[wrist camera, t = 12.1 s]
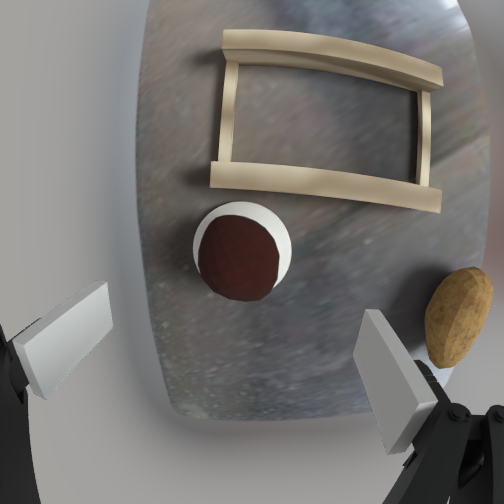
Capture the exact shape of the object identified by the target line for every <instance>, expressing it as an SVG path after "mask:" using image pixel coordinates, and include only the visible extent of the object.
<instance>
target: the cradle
mask: <svg viewBox="0 0 504 504" xmlns="http://www.w3.org/2000/svg"><path fill="white" fill-rule="evenodd" d="M222 51H223V53H224V56H225V58H226V60H227V62H226V72H225V82H224V92H223V103H222V115H221V128H220V141H219V155H218V162H217V161H211V176H210V187H211V188H231V189H247V190H261V191H274V192H286V193H297V194H307V195H317V196H326V197H335V198H343V199H351V200H359V201H367V202H374V203H381V204H388V205H394V206H401V207H407V208H413V209H419V210H425V211H430V212H436V213H440V209H441V200H442V191H443V190H439V189H435V188H431V187H428V182H429V169H430V148H431V110H430V92H432V91H435V90H437V89H439V88H441V87H443V78H442V69H441V67H438V66H436V65H433V64H431V63H428V62H425V61H423V60H420V59H417V58H414V57H411V56H408V55H405V54H402V53H399V52H395V51H392V50H388V49H385V48H381V47H377V46H373V45H369V44H365V43H361V42H356V41H351V40H346V39H341V38H335V37H329V36H323V35H316V34H308V33H299V32H289V31H275V30H224V33H223V41H222ZM239 65H269V66H283V67H295V68H304V69H313V70H320V71H327V72H333V73H339V74H345V75H350V76H356V77H360V78H365V79H370V80H374V81H378V82H382V83H386V84H390V85H394V86H398V87H401V88H405V89H408V90H411V91H415V92H417V96H418V151H417V170H416V183H415V184H411V183H406V182H401V181H396V180H390V179H385V178H379V177H373V176H366V175H360V174H353V173H346V172H339V171H331V170H323V169H314V168H305V167H295V166H284V165H272V164H258V163H240V162H231V155H232V141H233V127H234V114H235V102H236V90H237V78H238V67H239Z"/></svg>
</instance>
